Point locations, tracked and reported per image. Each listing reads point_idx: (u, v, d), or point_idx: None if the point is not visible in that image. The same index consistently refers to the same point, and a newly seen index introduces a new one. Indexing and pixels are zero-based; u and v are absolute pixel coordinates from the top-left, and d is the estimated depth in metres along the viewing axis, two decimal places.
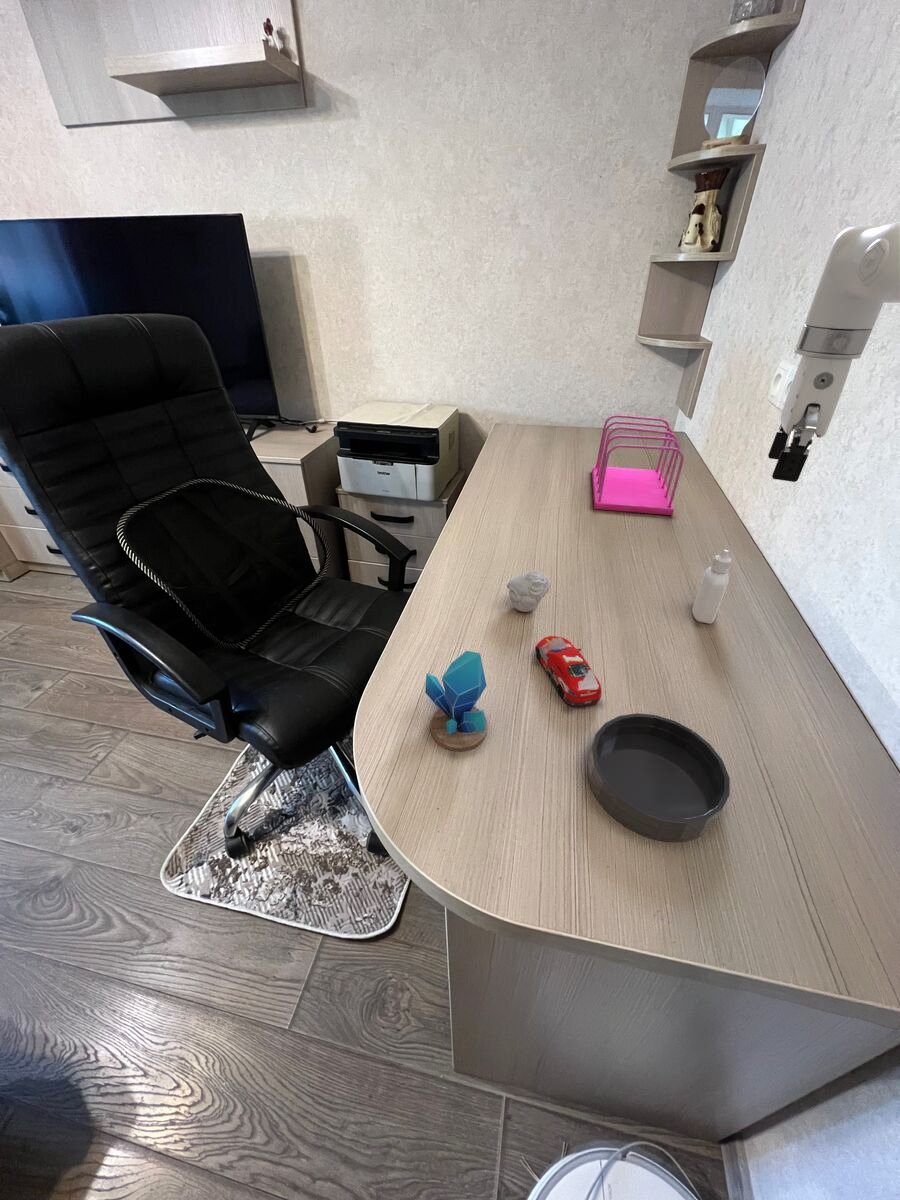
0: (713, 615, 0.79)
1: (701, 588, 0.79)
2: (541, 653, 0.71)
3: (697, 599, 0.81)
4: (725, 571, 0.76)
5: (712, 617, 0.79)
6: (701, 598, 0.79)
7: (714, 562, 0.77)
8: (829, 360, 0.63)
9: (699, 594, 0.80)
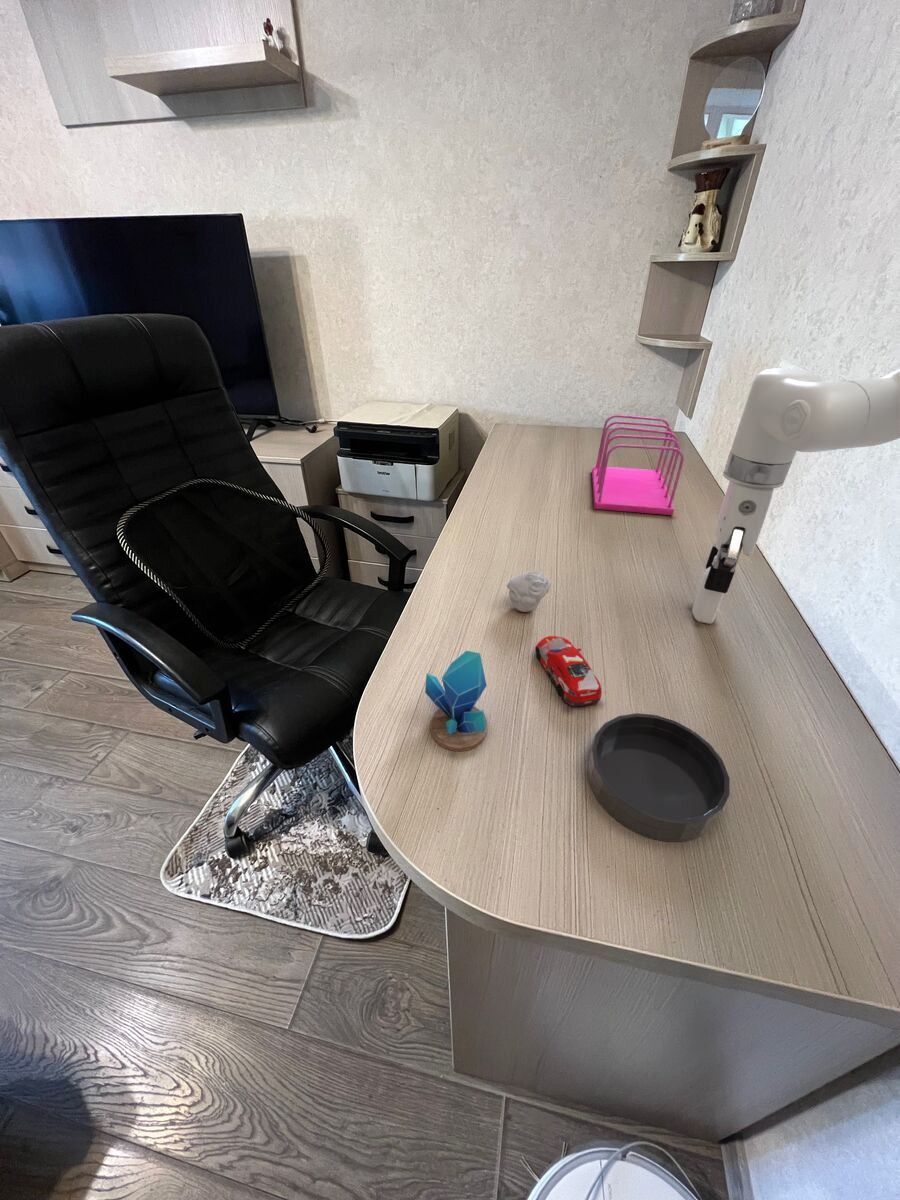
0: (713, 615, 0.79)
1: (701, 588, 0.79)
2: (541, 653, 0.71)
3: (697, 599, 0.81)
4: None
5: (712, 617, 0.79)
6: (701, 598, 0.79)
7: (714, 562, 0.77)
8: (751, 490, 0.66)
9: (699, 594, 0.80)
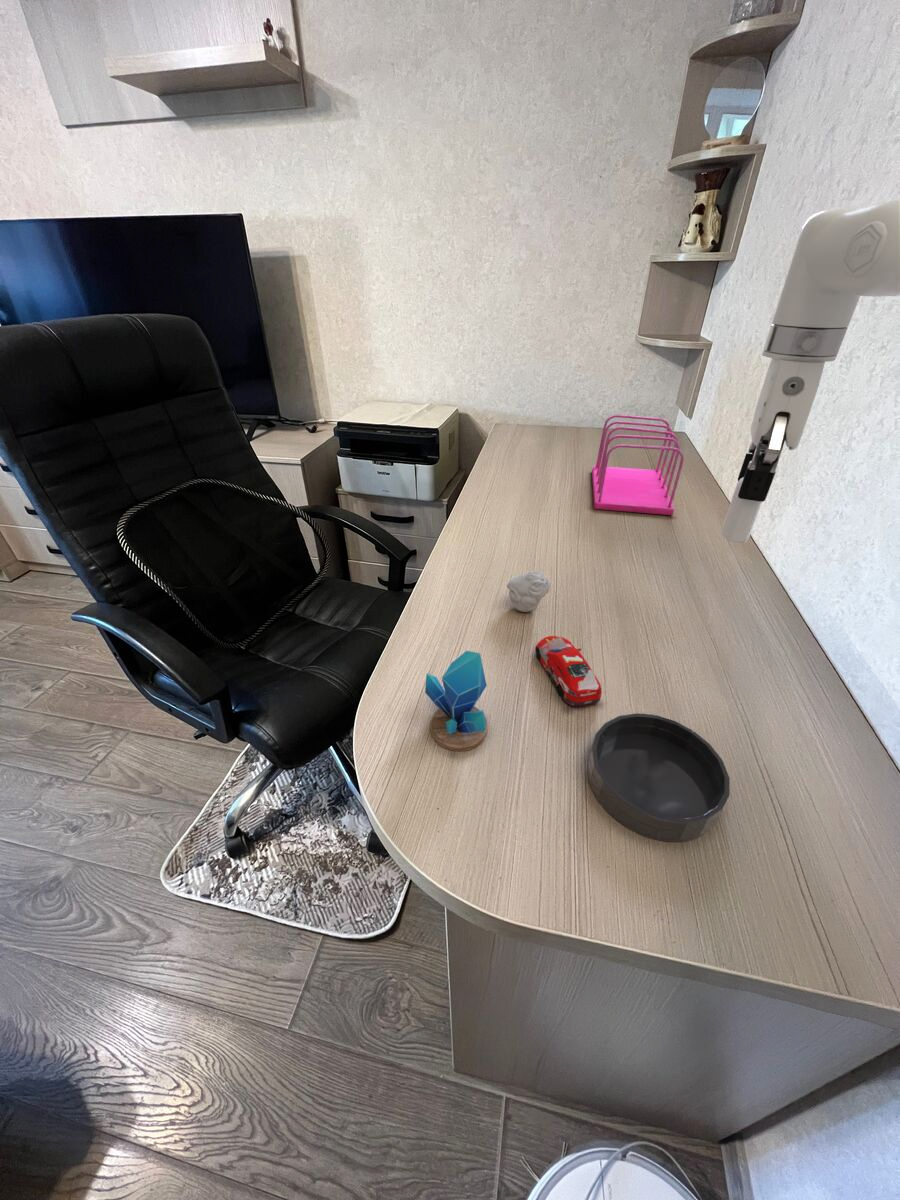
0: (747, 532, 0.69)
1: (733, 501, 0.69)
2: (541, 653, 0.71)
3: (728, 516, 0.70)
4: None
5: (746, 534, 0.69)
6: (733, 512, 0.69)
7: None
8: (799, 363, 0.56)
9: (730, 509, 0.70)
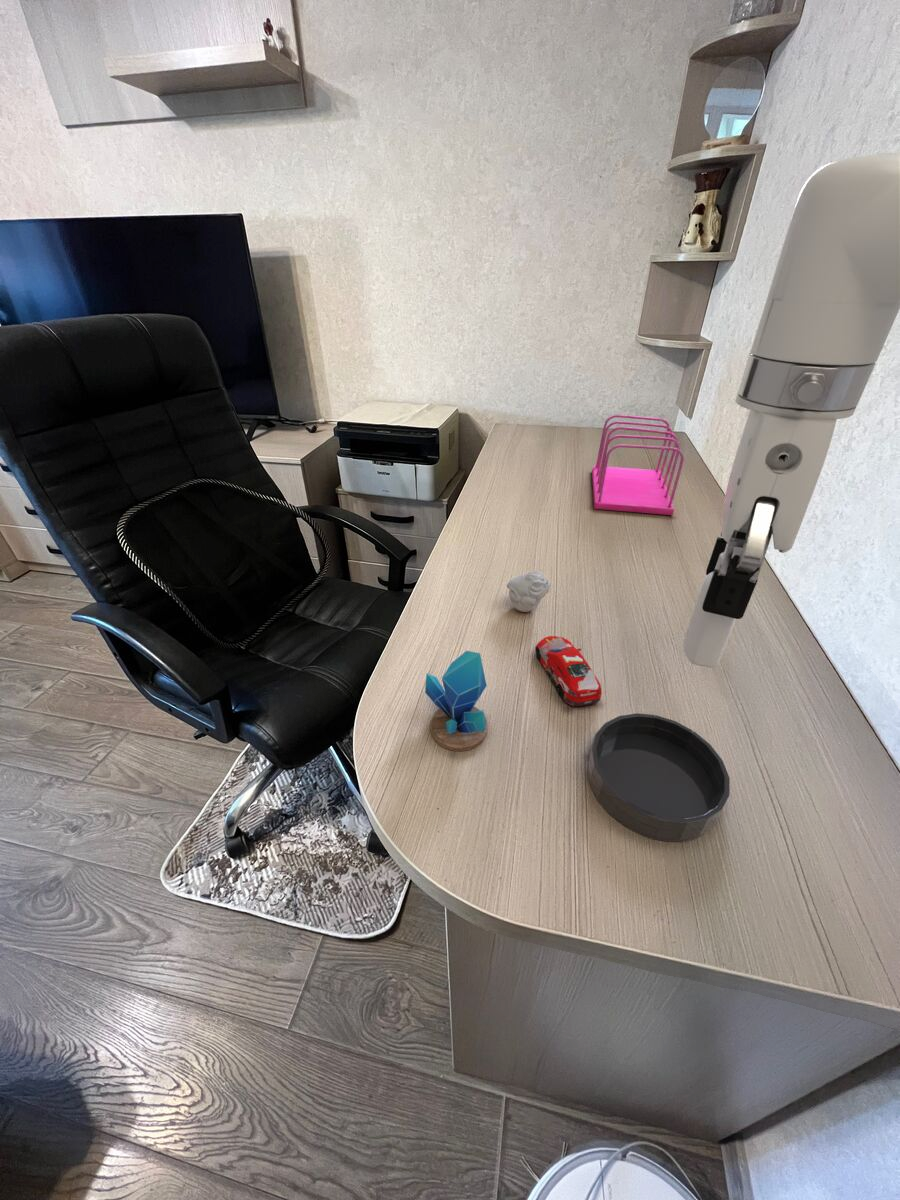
0: (718, 654, 0.46)
1: (697, 608, 0.47)
2: (541, 653, 0.71)
3: (691, 627, 0.48)
4: None
5: (716, 658, 0.47)
6: (697, 625, 0.47)
7: (719, 564, 0.44)
8: (793, 422, 0.33)
9: (693, 617, 0.48)
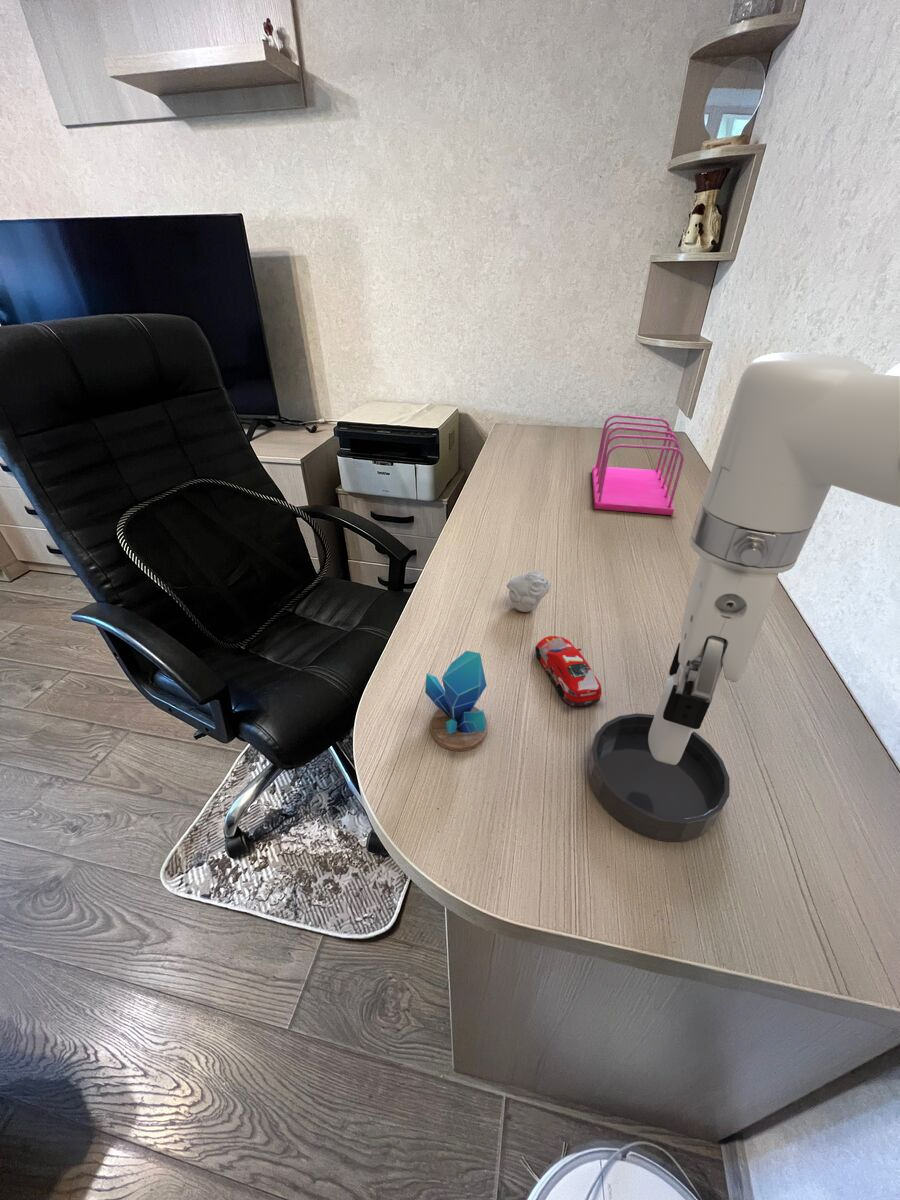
0: (679, 754, 0.49)
1: (660, 710, 0.50)
2: (541, 653, 0.71)
3: (654, 725, 0.51)
4: None
5: (677, 757, 0.49)
6: (659, 727, 0.49)
7: (679, 674, 0.47)
8: (738, 576, 0.36)
9: (656, 717, 0.50)
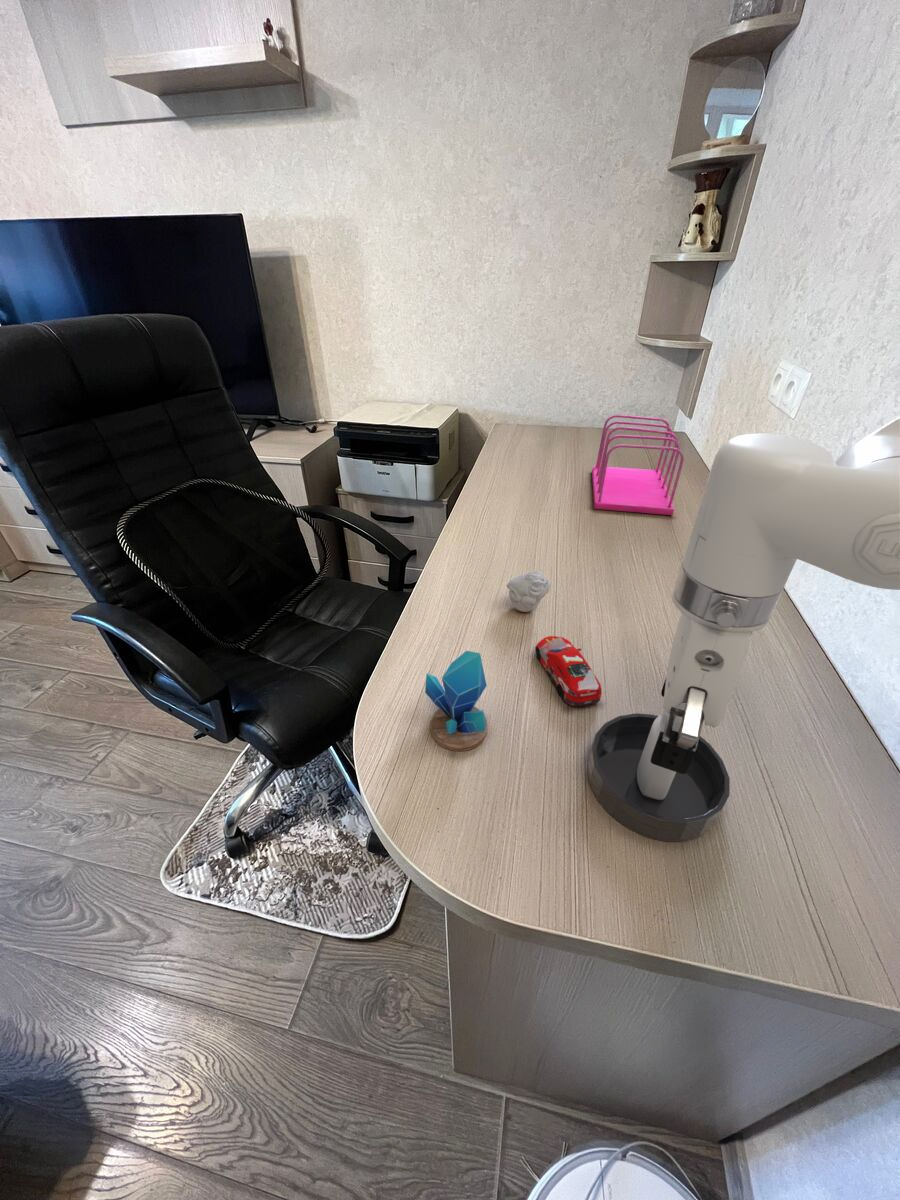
0: (664, 791, 0.53)
1: (647, 749, 0.53)
2: (541, 653, 0.71)
3: (642, 763, 0.54)
4: None
5: (663, 793, 0.53)
6: (646, 765, 0.53)
7: (664, 718, 0.50)
8: (715, 635, 0.39)
9: (644, 755, 0.54)
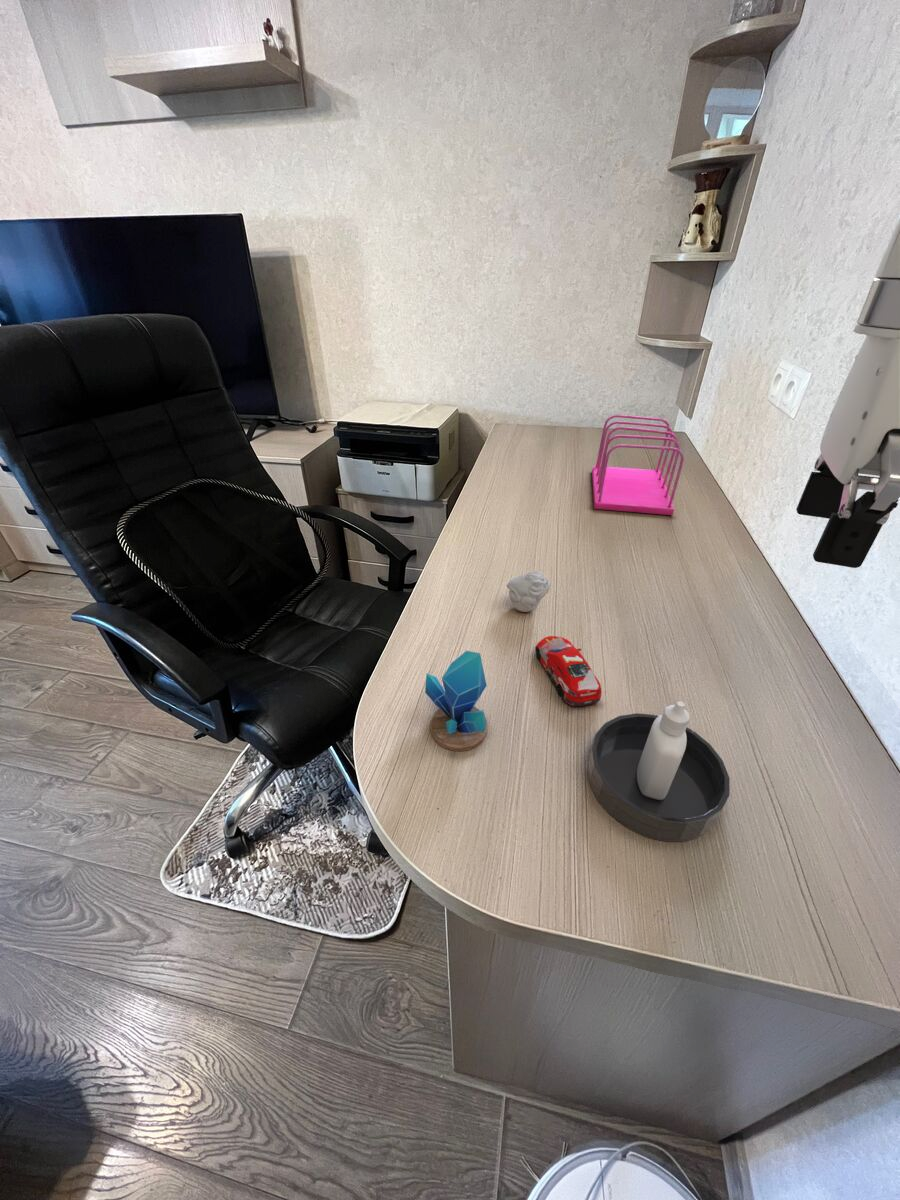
0: (664, 791, 0.53)
1: (647, 749, 0.53)
2: (541, 653, 0.71)
3: (642, 763, 0.54)
4: (680, 733, 0.50)
5: (663, 793, 0.53)
6: (646, 765, 0.53)
7: (664, 718, 0.50)
8: None
9: (644, 755, 0.54)
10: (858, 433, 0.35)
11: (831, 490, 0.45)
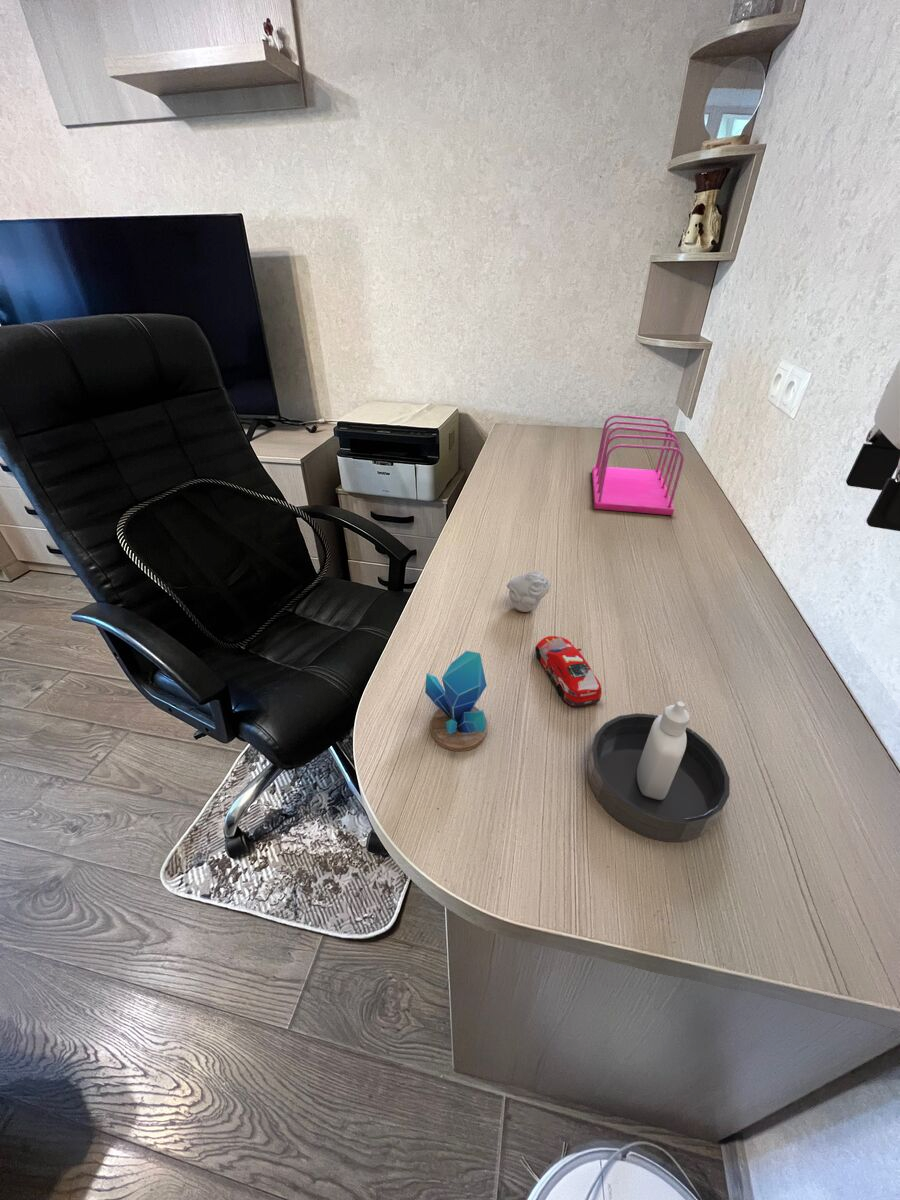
0: (664, 791, 0.53)
1: (647, 749, 0.53)
2: (541, 653, 0.71)
3: (642, 763, 0.54)
4: (680, 733, 0.50)
5: (663, 793, 0.53)
6: (646, 765, 0.53)
7: (664, 718, 0.50)
8: None
9: (644, 755, 0.54)
10: None
11: (883, 461, 0.47)
